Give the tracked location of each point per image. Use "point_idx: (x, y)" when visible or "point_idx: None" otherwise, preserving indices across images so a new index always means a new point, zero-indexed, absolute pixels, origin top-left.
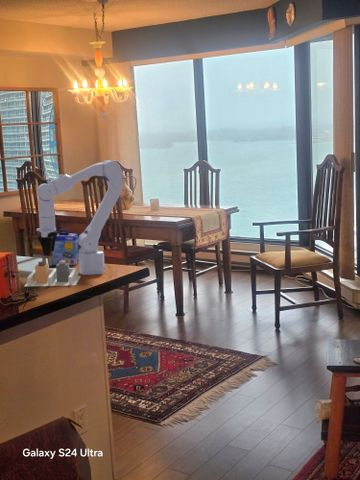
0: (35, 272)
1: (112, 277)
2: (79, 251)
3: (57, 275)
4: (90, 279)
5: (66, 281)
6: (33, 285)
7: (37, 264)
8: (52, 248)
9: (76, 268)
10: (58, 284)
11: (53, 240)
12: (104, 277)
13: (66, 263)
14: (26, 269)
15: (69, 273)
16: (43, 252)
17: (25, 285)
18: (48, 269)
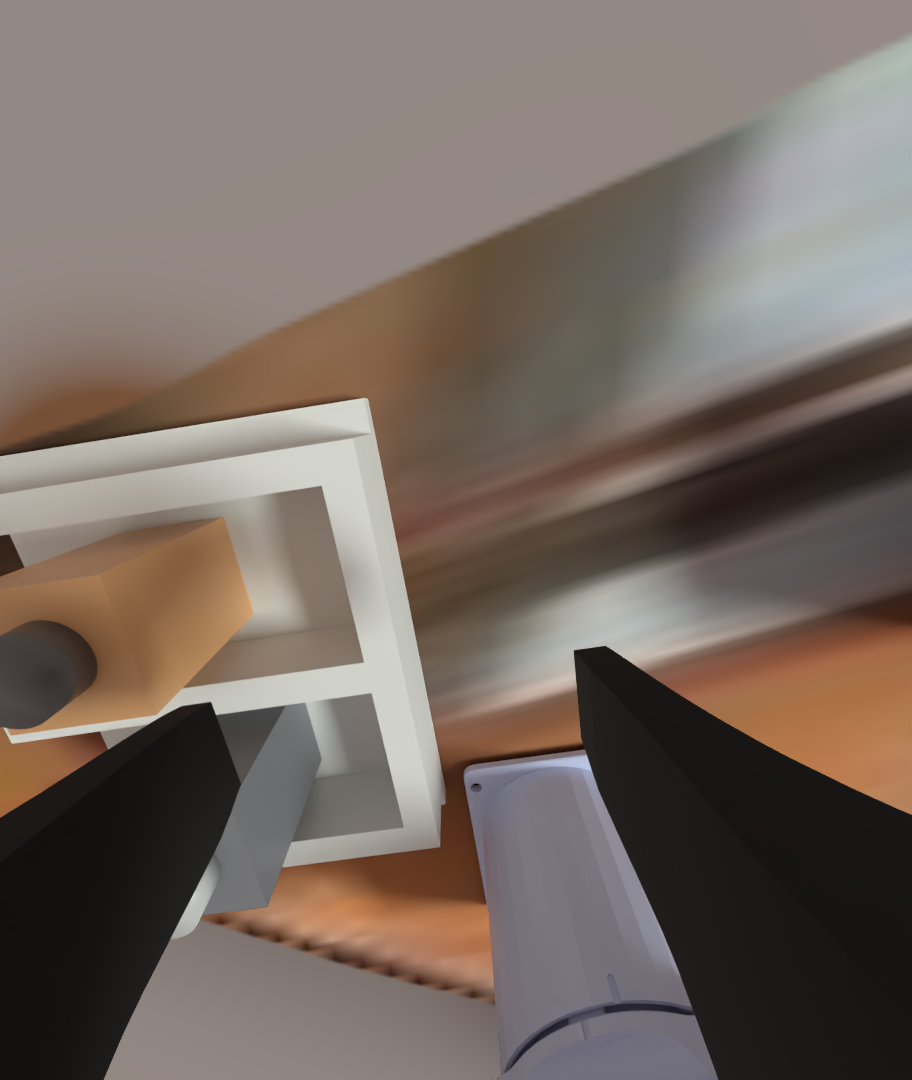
0: (20, 572)
1: (468, 956)
2: (557, 1046)
3: None
4: (402, 855)
5: None
6: (37, 539)
7: (90, 583)
8: (597, 764)
9: (412, 847)
10: (134, 728)
11: (699, 1006)
12: (466, 917)
13: (236, 891)
14: (835, 130)
15: (303, 801)
16: (128, 741)
17: (10, 462)
18: (190, 673)
